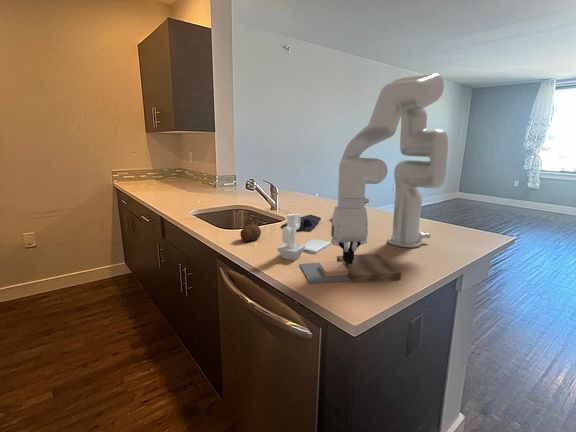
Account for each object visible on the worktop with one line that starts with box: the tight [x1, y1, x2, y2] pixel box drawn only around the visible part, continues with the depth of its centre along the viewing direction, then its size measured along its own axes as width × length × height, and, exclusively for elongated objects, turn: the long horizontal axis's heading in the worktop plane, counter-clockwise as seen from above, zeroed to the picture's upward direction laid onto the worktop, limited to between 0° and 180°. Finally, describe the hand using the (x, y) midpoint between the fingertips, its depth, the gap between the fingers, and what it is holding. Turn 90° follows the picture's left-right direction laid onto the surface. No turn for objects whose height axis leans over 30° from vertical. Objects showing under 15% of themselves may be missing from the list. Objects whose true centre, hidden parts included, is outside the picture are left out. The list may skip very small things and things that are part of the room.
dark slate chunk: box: [280, 214, 322, 232], centre depth 151 cm, size 15×22×5 cm
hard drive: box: [302, 238, 333, 255], centre depth 120 cm, size 2×8×12 cm
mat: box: [299, 261, 352, 284], centre depth 96 cm, size 12×14×1 cm
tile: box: [319, 261, 349, 277], centre depth 96 cm, size 7×7×2 cm
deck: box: [336, 253, 402, 283], centre depth 98 cm, size 14×16×2 cm
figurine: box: [276, 213, 305, 261], centre depth 108 cm, size 7×9×15 cm
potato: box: [240, 224, 262, 242], centre depth 128 cm, size 7×10×6 cm
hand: (348, 262), depth 97 cm, fingers closed
